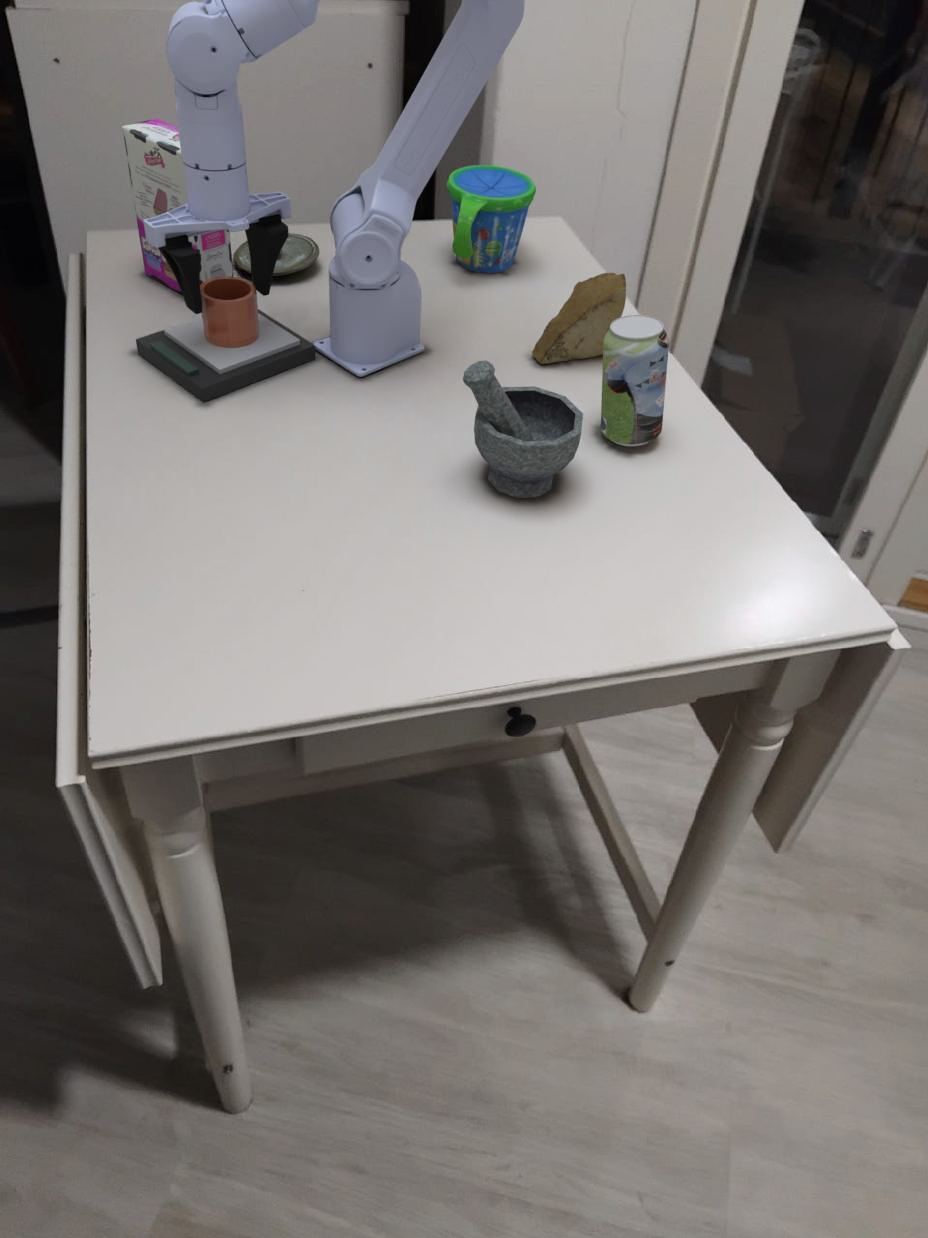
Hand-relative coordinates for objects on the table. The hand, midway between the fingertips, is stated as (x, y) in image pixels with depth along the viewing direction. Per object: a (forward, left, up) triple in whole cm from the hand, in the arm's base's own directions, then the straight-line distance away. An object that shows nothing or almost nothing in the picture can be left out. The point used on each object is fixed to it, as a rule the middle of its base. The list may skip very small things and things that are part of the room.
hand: (228, 300), depth 96 cm
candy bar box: (-5, -16, -6) cm, 18 cm away
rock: (-30, +22, -6) cm, 38 cm away
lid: (-16, -14, -6) cm, 22 cm away
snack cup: (-38, 0, -6) cm, 39 cm away
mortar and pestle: (-7, +34, -6) cm, 35 cm away
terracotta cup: (0, 0, -4) cm, 4 cm away
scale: (+1, 0, -6) cm, 6 cm away
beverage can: (-21, +36, -6) cm, 42 cm away
